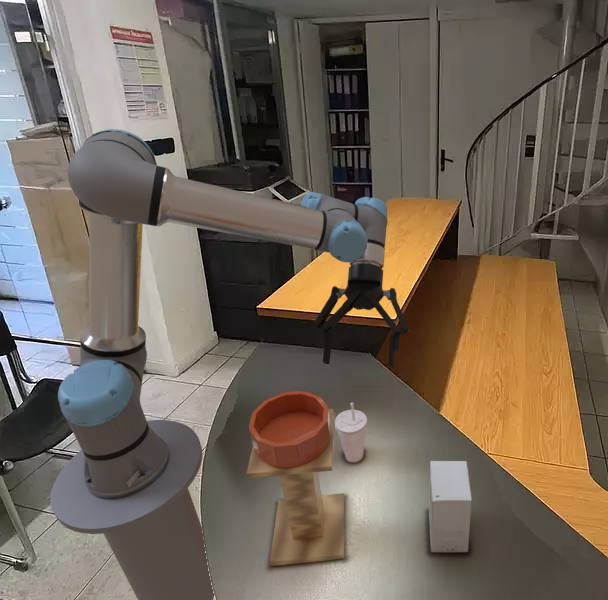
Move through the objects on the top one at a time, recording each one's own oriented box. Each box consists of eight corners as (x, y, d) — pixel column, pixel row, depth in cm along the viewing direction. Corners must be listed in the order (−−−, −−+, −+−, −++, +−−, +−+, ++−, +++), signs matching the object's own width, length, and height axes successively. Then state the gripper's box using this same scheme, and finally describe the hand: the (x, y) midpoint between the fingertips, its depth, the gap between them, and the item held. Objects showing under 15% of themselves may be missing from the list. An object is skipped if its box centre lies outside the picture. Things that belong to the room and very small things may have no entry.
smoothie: (369, 467, 96) (364, 414, 90) (337, 468, 96) (330, 415, 90) (370, 443, 102) (366, 392, 95) (340, 443, 102) (334, 392, 95)
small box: (468, 553, 80) (472, 501, 74) (430, 553, 81) (431, 501, 74) (463, 510, 87) (467, 459, 81) (428, 510, 88) (429, 460, 81)
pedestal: (270, 566, 79) (246, 473, 68) (279, 503, 90) (259, 414, 79) (344, 558, 80) (331, 466, 69) (344, 497, 90) (333, 408, 80)
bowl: (248, 471, 69) (243, 449, 66) (261, 415, 78) (256, 394, 76) (329, 464, 69) (326, 441, 67) (331, 409, 79) (329, 388, 77)
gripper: (424, 274, 108) (419, 369, 102) (315, 271, 110) (304, 364, 105) (422, 263, 100) (417, 365, 95) (305, 260, 103) (294, 359, 98)
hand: (358, 364), depth 100 cm, fingers open, 13 cm apart
